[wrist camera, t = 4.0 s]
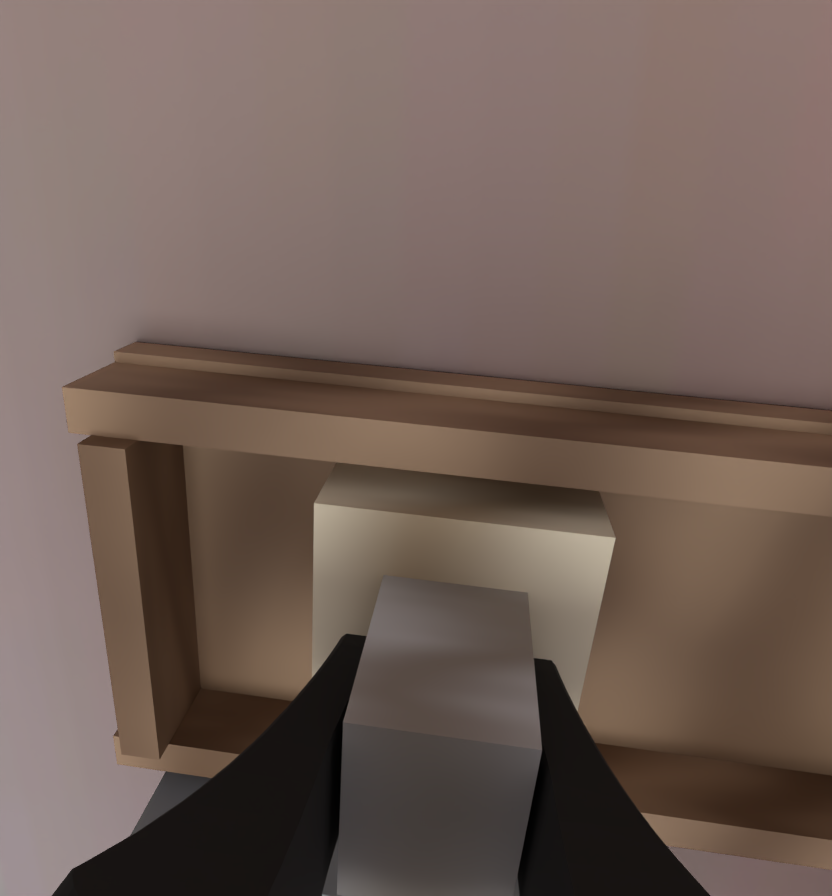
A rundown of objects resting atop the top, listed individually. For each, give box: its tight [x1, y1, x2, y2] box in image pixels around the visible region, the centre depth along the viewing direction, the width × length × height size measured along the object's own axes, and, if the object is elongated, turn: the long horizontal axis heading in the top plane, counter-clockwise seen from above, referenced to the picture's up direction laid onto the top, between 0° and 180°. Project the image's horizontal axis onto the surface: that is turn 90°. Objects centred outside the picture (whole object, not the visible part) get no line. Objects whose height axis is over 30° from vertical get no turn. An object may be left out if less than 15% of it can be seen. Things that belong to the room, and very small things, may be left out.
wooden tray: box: [62, 342, 832, 870], centre depth 15 cm, size 21×11×4 cm, turn 86°
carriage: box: [312, 462, 616, 896], centre depth 13 cm, size 6×7×6 cm
